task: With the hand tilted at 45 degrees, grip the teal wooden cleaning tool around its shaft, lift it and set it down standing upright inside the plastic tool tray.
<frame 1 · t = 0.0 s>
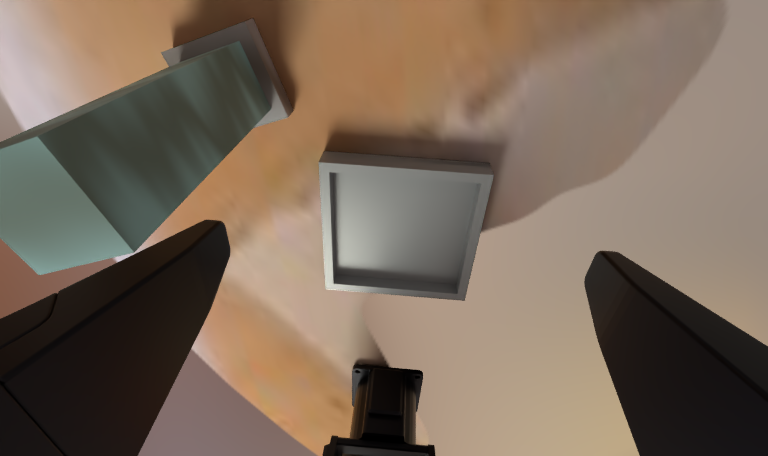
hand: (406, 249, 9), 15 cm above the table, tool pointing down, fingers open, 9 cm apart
cleaner tool: (235, 80, 22), on the table
tool tray: (400, 225, 27), on the table
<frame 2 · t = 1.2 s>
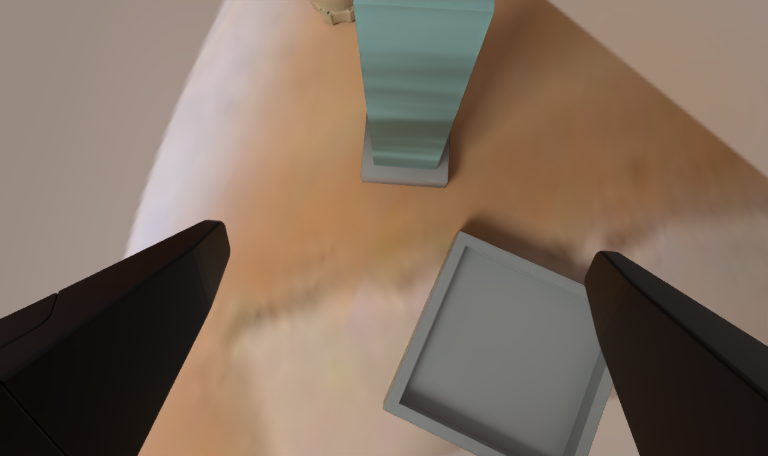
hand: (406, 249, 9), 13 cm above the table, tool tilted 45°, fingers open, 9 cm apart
handle: (338, 8, 26), on the table
cleaner tool: (406, 145, 24), on the table
tool tray: (503, 353, 22), on the table
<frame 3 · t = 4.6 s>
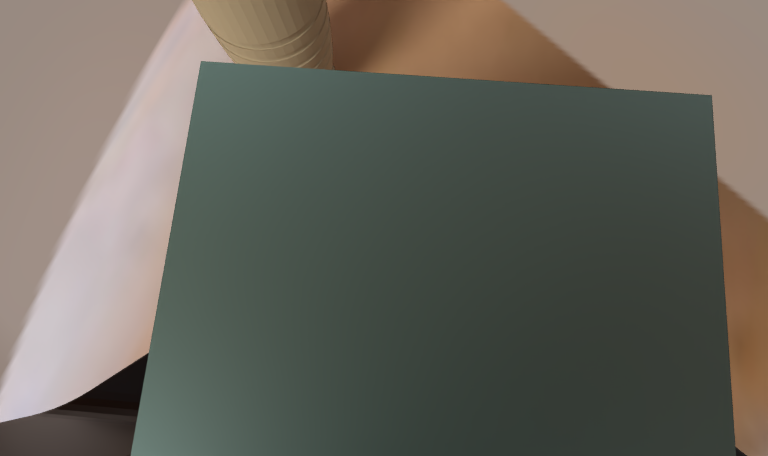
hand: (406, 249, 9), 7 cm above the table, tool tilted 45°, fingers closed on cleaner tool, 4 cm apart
handle: (302, 91, 18), on the table
cleaner tool: (397, 302, 16), on the table, touching gripper
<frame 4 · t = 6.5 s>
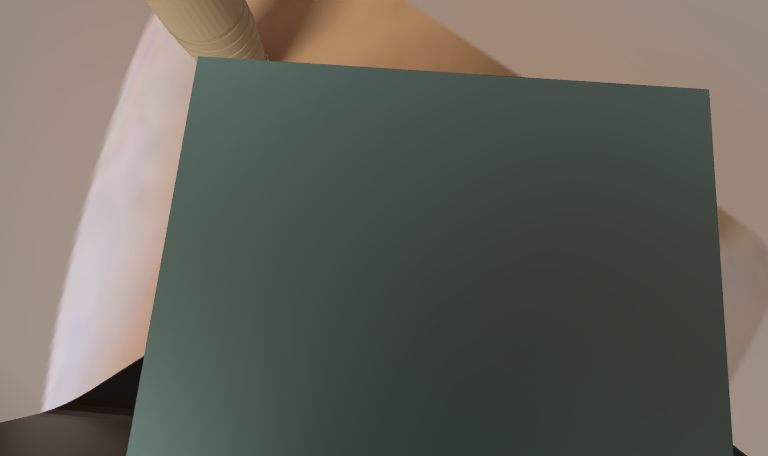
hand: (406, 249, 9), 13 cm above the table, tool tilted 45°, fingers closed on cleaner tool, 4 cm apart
handle: (247, 75, 24), on the table
cleaner tool: (396, 302, 16), point 6 cm above the table, touching gripper
when the fingers open (9 cm above the table, at t = 8.8 s): cleaner tool stays where it is, resting on tool tray.
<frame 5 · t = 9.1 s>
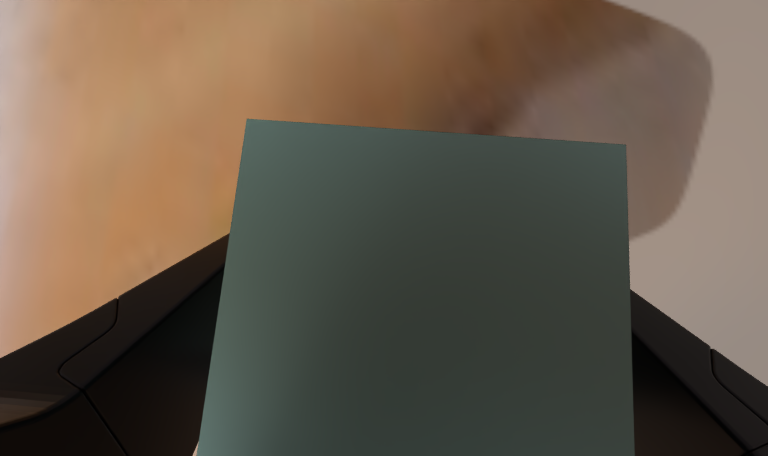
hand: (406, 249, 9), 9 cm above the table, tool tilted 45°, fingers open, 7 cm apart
cleaner tool: (396, 301, 17), point 1 cm above the table, touching tool tray
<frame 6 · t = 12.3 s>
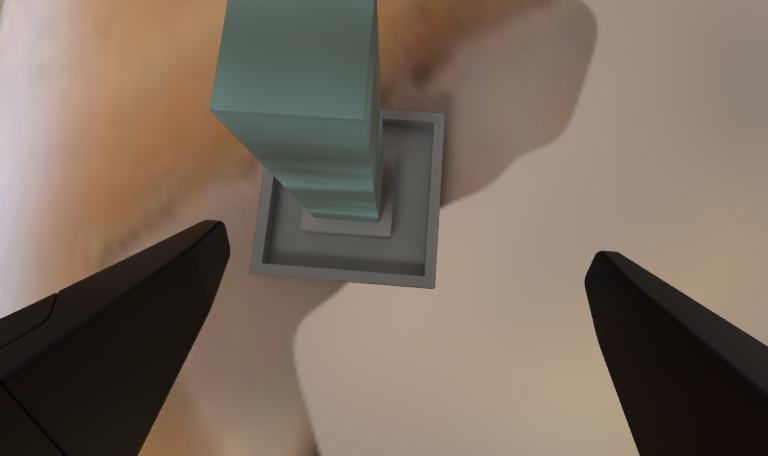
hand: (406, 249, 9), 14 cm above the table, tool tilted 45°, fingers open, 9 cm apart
cleaner tool: (351, 194, 23), point 1 cm above the table, touching tool tray
tool tray: (353, 197, 24), on the table
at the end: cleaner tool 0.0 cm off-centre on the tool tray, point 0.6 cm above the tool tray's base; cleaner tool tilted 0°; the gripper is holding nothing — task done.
